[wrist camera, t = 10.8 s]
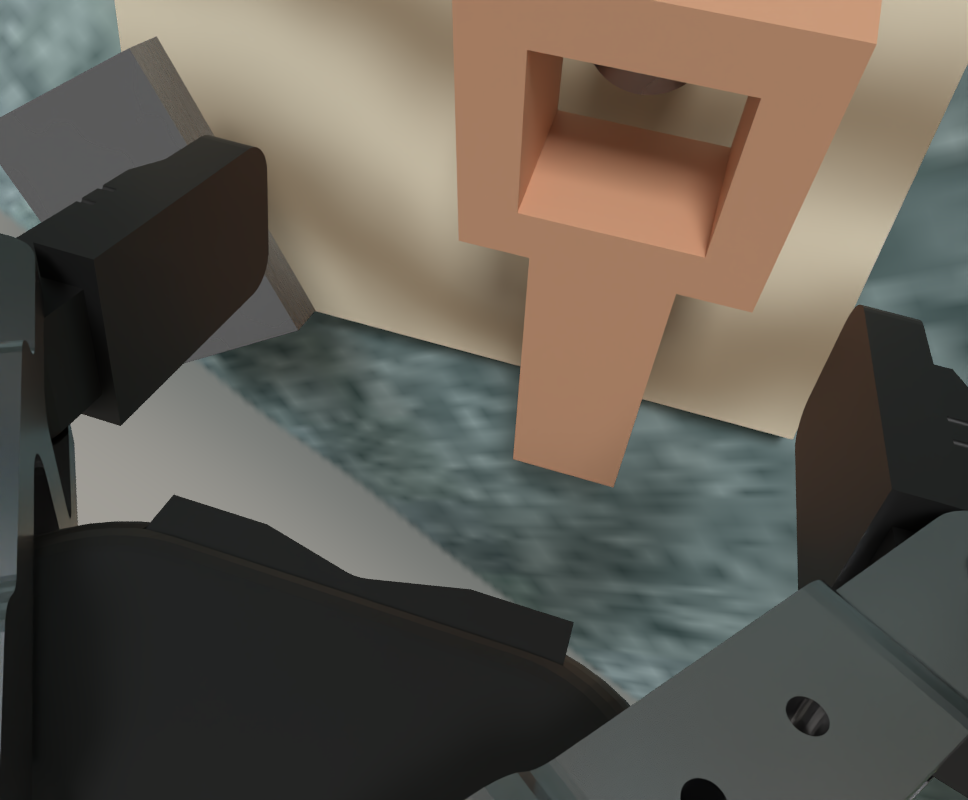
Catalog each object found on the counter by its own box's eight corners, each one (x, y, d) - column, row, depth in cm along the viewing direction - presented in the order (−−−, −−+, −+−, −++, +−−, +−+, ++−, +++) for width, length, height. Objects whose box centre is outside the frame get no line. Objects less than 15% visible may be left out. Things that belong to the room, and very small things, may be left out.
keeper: (254, -6, 22) (129, 48, 18) (379, 236, 25) (298, 330, 21) (115, 67, 24) (-25, 130, 20) (246, 280, 27) (149, 373, 23)
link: (510, -145, 14) (450, -39, 12) (890, -79, 13) (876, 43, 11) (494, 364, 27) (464, 445, 25) (684, 414, 26) (664, 501, 24)
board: (67, -585, 17) (33, -601, 16) (1190, -454, 14) (1213, -467, 13) (167, 253, 29) (150, 266, 28) (792, 419, 26) (792, 439, 25)
